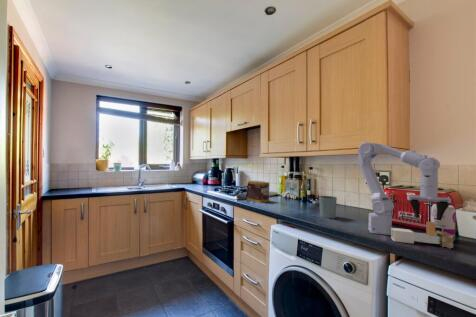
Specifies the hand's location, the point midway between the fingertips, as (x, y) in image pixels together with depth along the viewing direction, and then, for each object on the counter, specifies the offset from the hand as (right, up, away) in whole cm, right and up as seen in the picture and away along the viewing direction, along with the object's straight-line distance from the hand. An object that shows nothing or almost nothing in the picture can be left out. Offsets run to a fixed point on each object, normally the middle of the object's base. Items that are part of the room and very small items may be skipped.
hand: (427, 218), depth 99 cm
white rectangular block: (-9, -10, +2) cm, 14 cm away
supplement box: (-64, -10, +94) cm, 114 cm away
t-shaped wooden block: (-2, -10, 0) cm, 10 cm away
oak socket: (+5, -10, -2) cm, 12 cm away
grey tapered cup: (-26, -10, +43) cm, 51 cm away
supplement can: (+12, -11, +6) cm, 17 cm away
